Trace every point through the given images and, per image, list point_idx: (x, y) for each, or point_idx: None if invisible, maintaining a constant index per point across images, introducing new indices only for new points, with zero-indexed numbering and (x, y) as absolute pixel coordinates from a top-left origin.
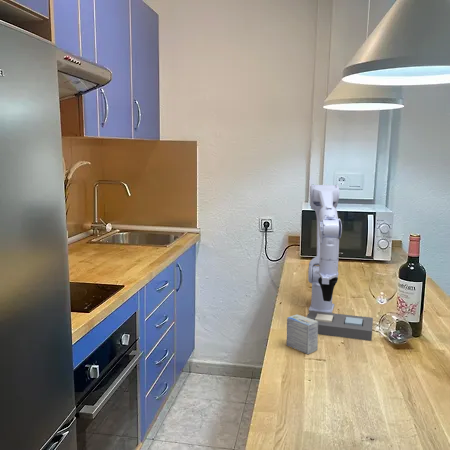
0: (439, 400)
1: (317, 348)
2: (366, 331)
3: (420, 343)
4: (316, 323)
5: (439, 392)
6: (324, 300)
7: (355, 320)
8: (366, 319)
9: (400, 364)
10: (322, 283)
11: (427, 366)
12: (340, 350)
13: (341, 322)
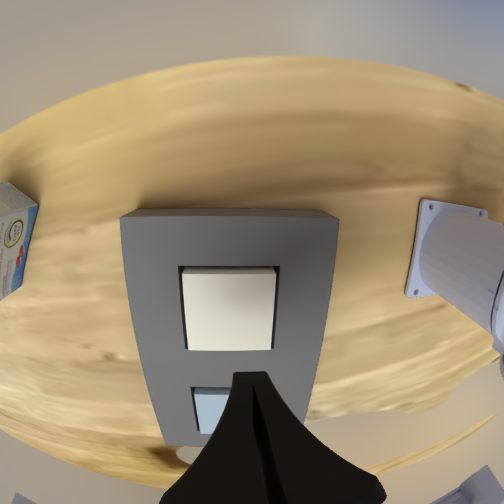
0: (21, 438)
1: (17, 288)
2: (162, 433)
3: None
4: None
5: (37, 446)
6: (233, 378)
7: None
8: None
9: (79, 439)
10: (16, 497)
11: (103, 465)
12: (57, 348)
13: (205, 379)
